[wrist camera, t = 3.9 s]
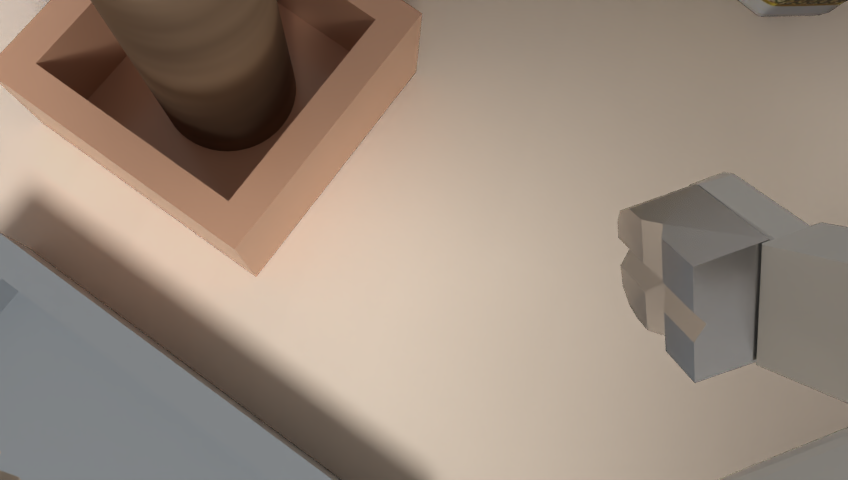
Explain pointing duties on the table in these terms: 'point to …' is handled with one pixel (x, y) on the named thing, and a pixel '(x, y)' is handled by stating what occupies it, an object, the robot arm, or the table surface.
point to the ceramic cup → (791, 7)
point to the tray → (114, 395)
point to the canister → (210, 65)
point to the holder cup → (210, 169)
